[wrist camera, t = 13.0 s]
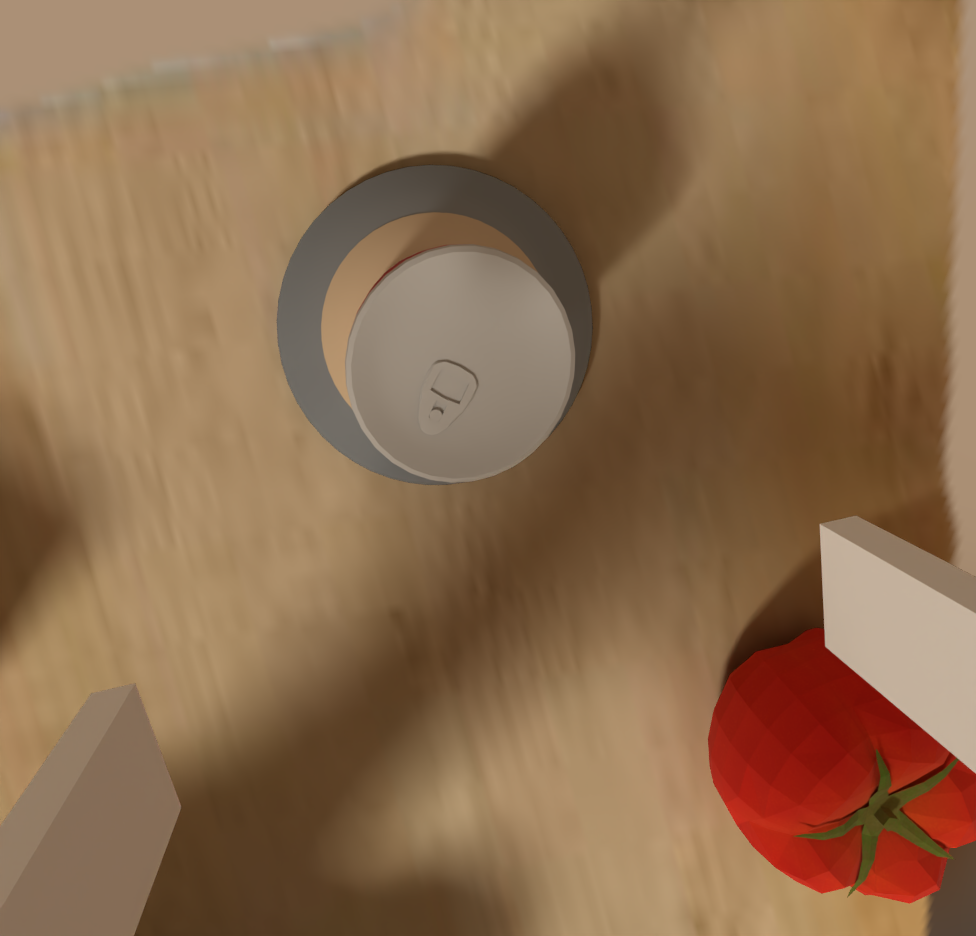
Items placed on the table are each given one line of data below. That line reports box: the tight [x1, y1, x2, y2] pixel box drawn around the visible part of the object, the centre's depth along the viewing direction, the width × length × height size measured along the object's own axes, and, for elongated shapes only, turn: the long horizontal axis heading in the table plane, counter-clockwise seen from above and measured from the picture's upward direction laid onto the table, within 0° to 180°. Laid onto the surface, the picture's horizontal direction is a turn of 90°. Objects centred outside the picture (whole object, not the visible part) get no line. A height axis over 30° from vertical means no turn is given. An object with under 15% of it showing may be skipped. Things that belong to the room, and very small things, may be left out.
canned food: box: [345, 244, 575, 483], centre depth 28 cm, size 8×8×11 cm
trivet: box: [277, 165, 593, 485], centre depth 34 cm, size 15×15×1 cm
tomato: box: [708, 628, 976, 903], centre depth 39 cm, size 14×13×10 cm
